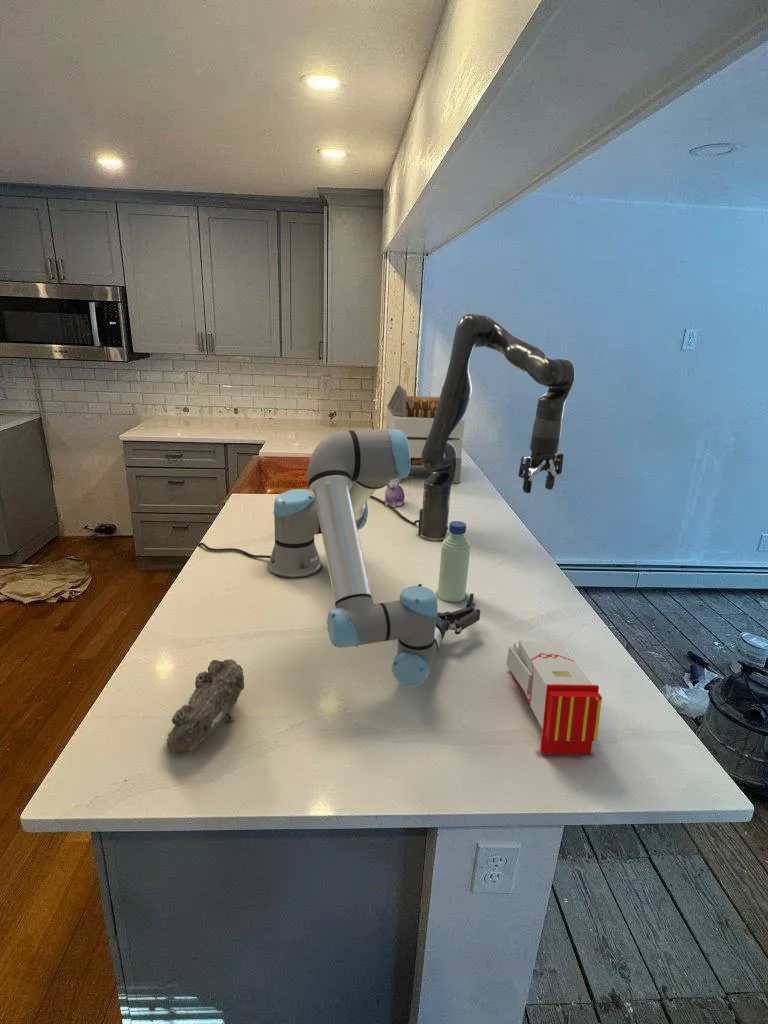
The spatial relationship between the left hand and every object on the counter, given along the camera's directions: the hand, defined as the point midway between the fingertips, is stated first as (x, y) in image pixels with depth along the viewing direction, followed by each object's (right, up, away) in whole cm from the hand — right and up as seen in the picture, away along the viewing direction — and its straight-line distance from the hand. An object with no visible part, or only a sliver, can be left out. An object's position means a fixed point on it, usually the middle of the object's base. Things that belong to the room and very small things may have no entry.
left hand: (445, 593), depth 147 cm
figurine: (-12, +24, +83) cm, 88 cm away
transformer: (+1, +40, +128) cm, 134 cm away
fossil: (-49, -18, -38) cm, 65 cm away
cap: (+4, +18, +5) cm, 19 cm away
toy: (+16, -18, -31) cm, 40 cm away
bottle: (+3, -2, +12) cm, 12 cm away
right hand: (+28, +27, +14) cm, 41 cm away
